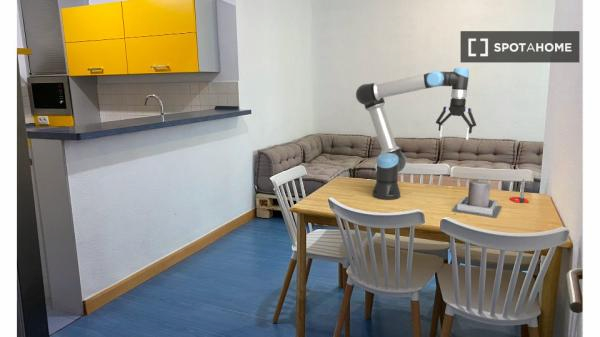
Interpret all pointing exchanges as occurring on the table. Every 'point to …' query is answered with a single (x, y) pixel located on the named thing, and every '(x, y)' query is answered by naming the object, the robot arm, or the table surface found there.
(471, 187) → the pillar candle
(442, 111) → the robot arm
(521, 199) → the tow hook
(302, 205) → the table surface
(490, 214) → the square socket
